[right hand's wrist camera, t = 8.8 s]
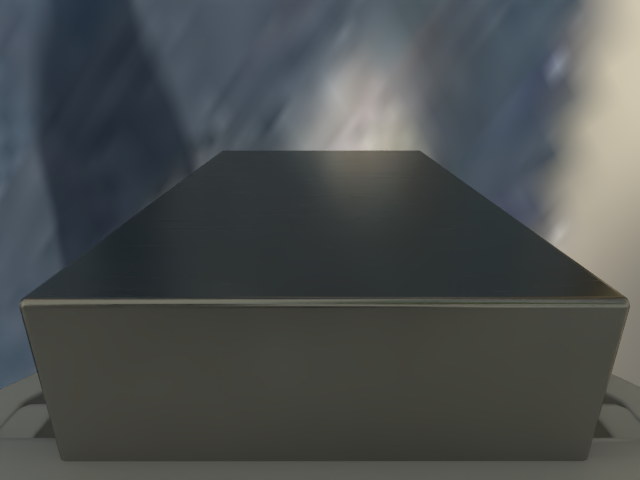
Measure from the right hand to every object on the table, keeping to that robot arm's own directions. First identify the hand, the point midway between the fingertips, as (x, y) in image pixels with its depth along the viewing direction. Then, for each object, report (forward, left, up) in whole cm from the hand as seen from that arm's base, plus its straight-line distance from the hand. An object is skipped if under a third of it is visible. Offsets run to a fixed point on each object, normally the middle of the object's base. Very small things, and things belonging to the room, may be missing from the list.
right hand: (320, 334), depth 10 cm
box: (+8, 0, -4) cm, 8 cm away
